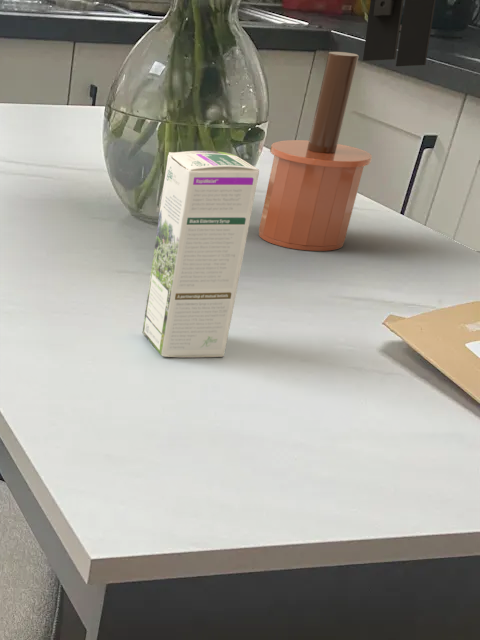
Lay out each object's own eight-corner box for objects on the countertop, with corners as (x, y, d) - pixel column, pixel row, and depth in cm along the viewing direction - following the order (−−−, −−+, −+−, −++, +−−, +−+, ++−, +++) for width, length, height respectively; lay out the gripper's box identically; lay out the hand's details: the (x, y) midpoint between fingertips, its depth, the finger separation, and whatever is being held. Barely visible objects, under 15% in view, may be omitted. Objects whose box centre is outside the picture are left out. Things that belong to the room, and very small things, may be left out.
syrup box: (226, 358, 88) (265, 167, 79) (158, 358, 87) (190, 165, 78) (203, 333, 93) (238, 150, 84) (137, 334, 92) (166, 148, 83)
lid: (257, 149, 119) (278, 44, 113) (350, 154, 120) (376, 49, 113) (284, 171, 111) (308, 58, 104) (383, 176, 111) (413, 64, 105)
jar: (249, 225, 123) (265, 145, 118) (328, 229, 124) (348, 149, 119) (271, 249, 116) (289, 164, 111) (355, 252, 116) (377, 168, 111)
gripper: (420, -183, 104) (384, 69, 113) (356, -250, 85) (320, 59, 94) (504, -195, 100) (460, 66, 110) (456, -268, 81) (408, 55, 91)
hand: (395, 63), depth 102 cm, fingers open, 13 cm apart
